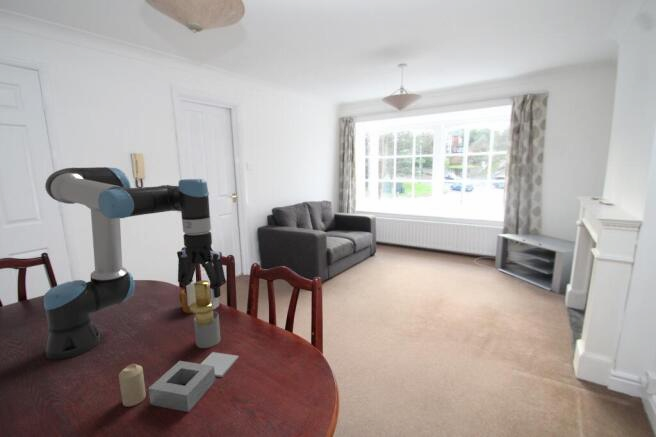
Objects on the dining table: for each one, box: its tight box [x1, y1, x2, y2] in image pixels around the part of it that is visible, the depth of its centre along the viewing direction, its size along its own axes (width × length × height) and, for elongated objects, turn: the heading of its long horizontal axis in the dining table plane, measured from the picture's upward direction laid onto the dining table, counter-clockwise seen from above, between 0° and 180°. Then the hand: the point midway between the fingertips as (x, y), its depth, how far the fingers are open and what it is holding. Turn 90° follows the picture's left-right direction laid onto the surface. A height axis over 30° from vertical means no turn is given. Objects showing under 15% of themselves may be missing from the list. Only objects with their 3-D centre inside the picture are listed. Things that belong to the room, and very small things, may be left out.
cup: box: [193, 310, 221, 349], centre depth 111 cm, size 8×8×10 cm
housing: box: [148, 360, 216, 413], centre depth 86 cm, size 12×12×5 cm
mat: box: [200, 351, 239, 378], centre depth 98 cm, size 10×10×1 cm
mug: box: [178, 288, 193, 314], centre depth 139 cm, size 9×12×9 cm
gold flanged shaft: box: [190, 280, 215, 326], centre depth 91 cm, size 8×8×13 cm
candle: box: [118, 362, 147, 408], centre depth 83 cm, size 6×6×10 cm
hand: (203, 305), depth 92 cm, fingers closed on gold flanged shaft, 8 cm apart
